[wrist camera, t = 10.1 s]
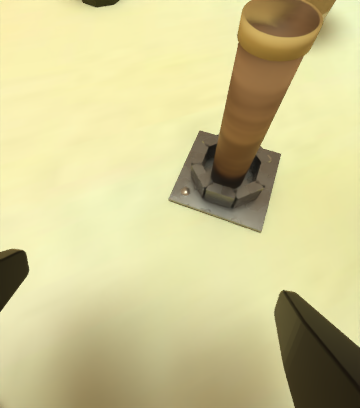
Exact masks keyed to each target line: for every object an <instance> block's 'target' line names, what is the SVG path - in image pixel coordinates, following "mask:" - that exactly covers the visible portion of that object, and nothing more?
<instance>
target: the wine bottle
mask: <svg viewBox="0 0 360 408" xmlns="http://www.w3.org/2000/svg"><path fill="white" fill-rule="evenodd" d="M82 1H83V3H86V4H89V5H92V6H95V7H100V6H107V5H113V4H115V3H116V2H118V1H119V0H82Z"/></svg>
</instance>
